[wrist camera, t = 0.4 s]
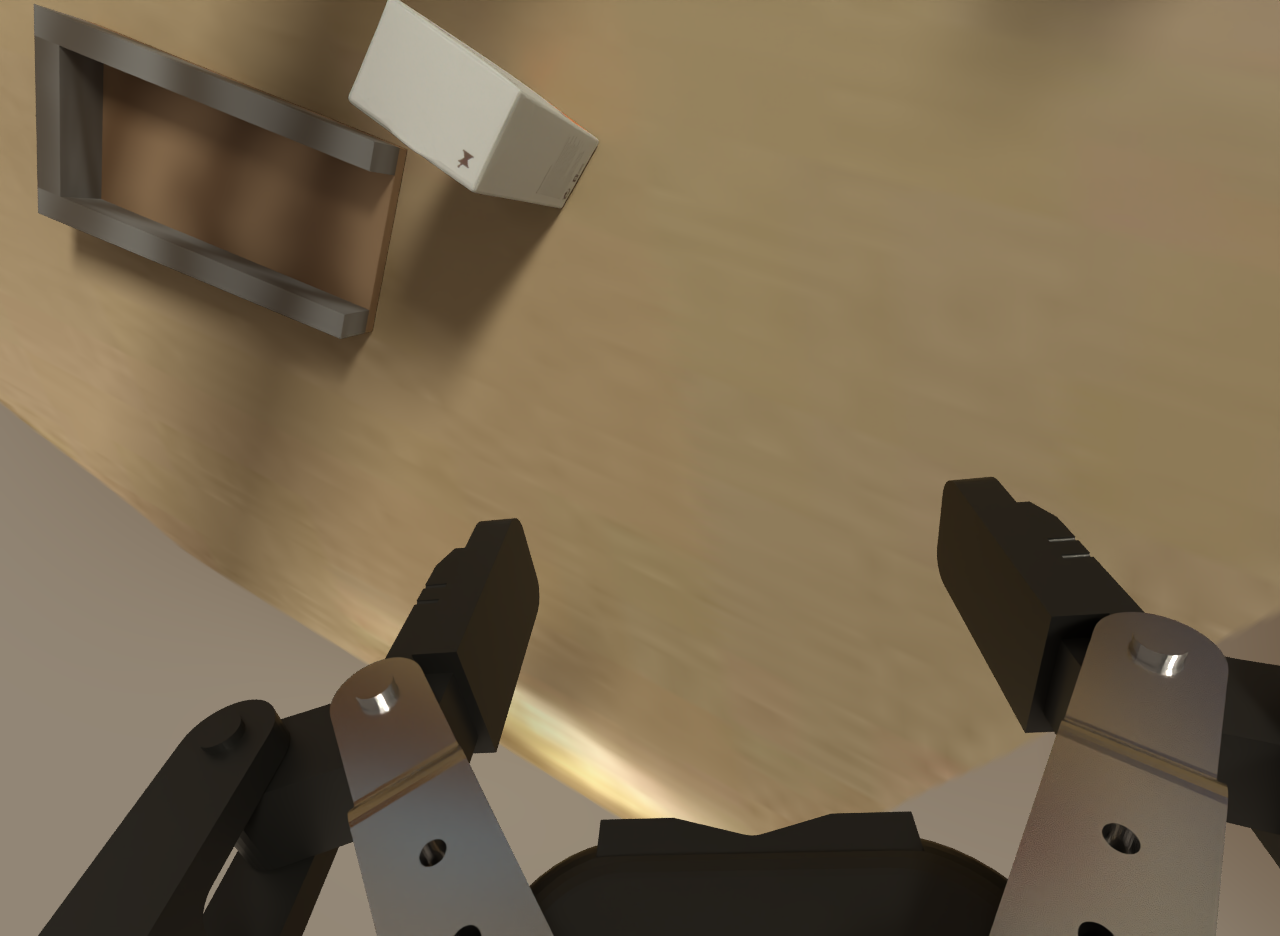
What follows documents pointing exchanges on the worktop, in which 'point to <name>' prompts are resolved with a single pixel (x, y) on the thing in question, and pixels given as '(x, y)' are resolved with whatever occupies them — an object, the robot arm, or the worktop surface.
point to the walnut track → (212, 175)
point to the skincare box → (467, 113)
